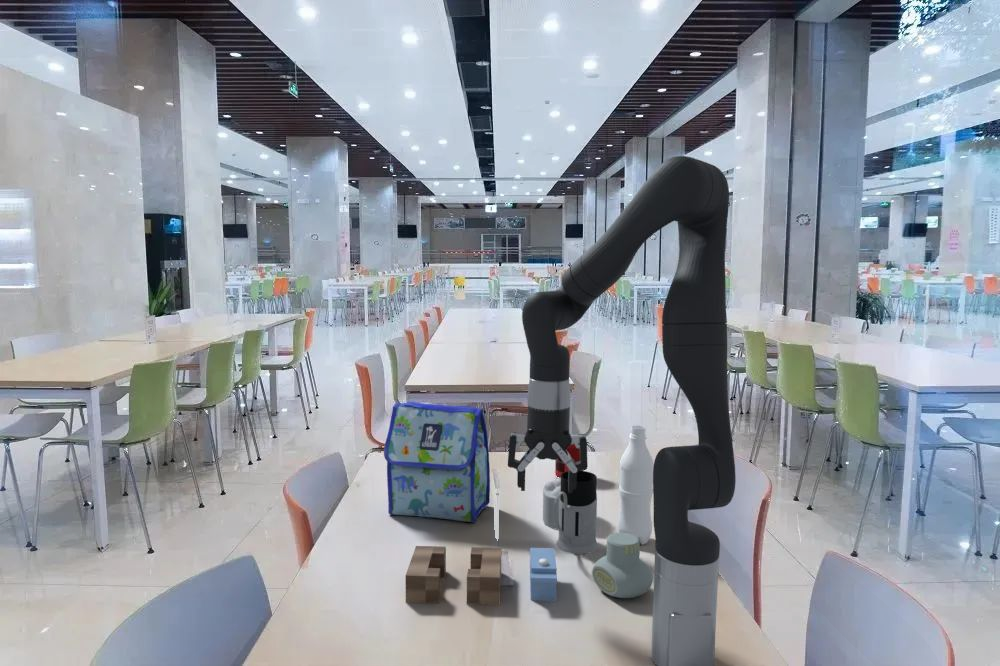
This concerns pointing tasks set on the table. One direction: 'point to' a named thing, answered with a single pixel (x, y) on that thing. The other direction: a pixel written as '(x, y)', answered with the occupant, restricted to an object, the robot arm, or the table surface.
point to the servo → (543, 574)
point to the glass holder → (577, 514)
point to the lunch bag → (437, 461)
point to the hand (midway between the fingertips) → (546, 490)
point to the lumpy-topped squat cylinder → (550, 502)
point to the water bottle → (636, 487)
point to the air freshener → (622, 568)
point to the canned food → (575, 455)
